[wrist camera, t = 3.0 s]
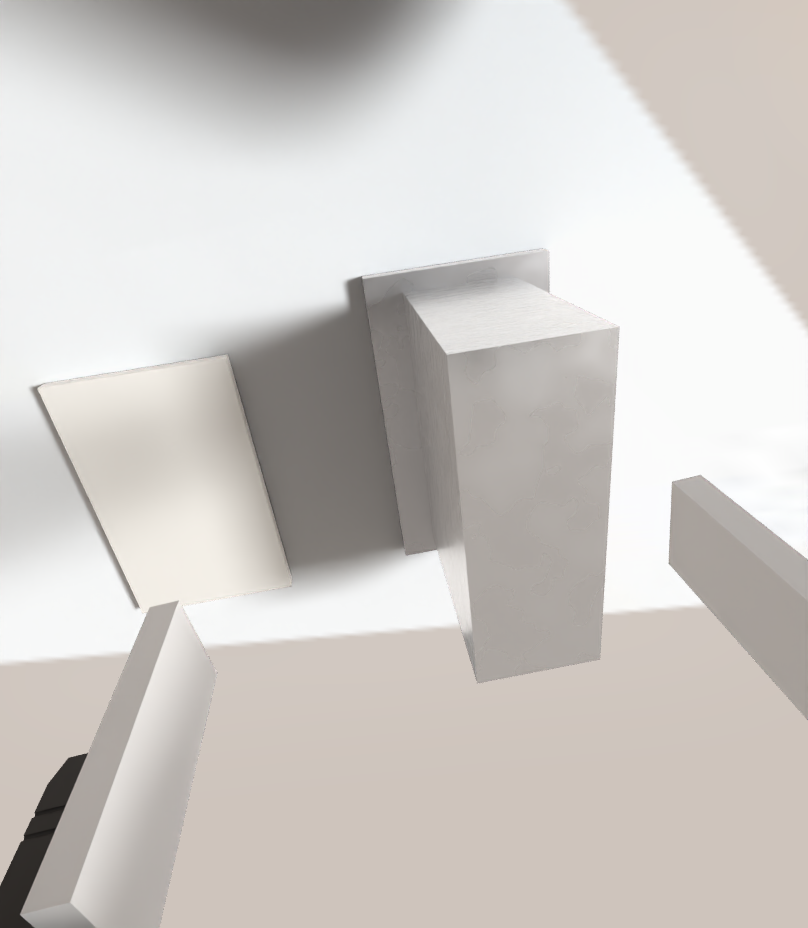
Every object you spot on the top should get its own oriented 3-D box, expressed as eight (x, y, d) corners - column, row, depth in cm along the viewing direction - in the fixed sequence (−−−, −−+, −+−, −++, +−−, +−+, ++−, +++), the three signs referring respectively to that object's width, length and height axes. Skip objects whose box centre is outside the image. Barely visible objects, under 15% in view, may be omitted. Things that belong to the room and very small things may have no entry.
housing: (361, 276, 29) (383, 334, 18) (542, 248, 30) (678, 287, 18) (404, 546, 37) (437, 705, 26) (544, 521, 38) (638, 666, 26)
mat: (44, 383, 30) (37, 388, 29) (227, 354, 30) (225, 358, 29) (146, 605, 37) (142, 613, 36) (292, 578, 38) (291, 586, 37)
